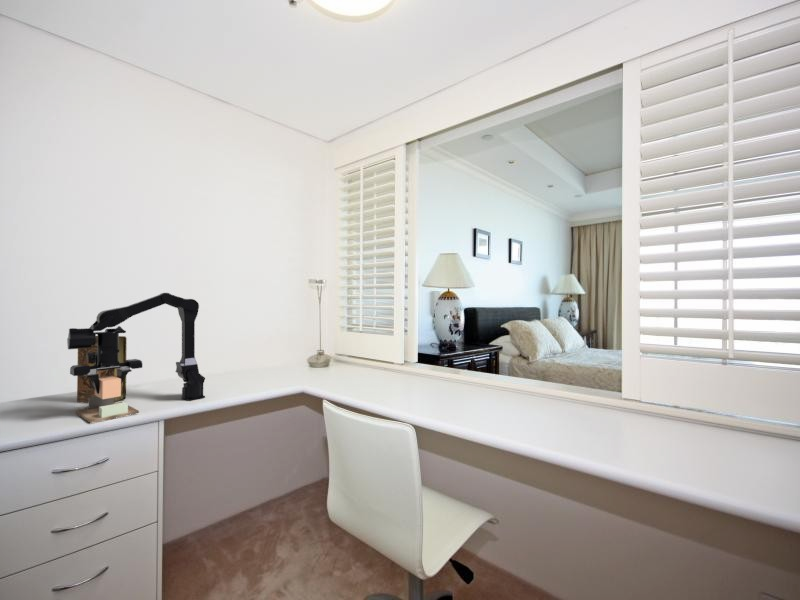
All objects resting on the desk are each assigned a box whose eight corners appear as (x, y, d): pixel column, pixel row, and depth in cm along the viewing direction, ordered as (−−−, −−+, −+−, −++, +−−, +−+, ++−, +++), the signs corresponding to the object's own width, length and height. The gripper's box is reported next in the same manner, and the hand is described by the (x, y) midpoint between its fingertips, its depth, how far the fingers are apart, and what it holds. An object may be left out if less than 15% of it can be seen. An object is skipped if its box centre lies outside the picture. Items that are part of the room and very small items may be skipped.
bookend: (111, 403, 132) (112, 392, 132) (114, 405, 130) (114, 393, 130) (87, 408, 126) (87, 396, 126) (89, 409, 125) (89, 398, 125)
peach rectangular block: (112, 392, 128) (112, 375, 129) (120, 396, 123) (121, 378, 123) (94, 395, 124) (94, 377, 125) (102, 399, 119) (102, 381, 119)
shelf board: (121, 404, 134) (121, 401, 134) (138, 413, 123) (138, 410, 123) (75, 412, 124) (75, 410, 124) (90, 423, 113) (90, 420, 113)
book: (74, 402, 136) (74, 337, 137) (88, 398, 142) (88, 335, 142) (113, 404, 135) (114, 337, 135) (126, 400, 140) (126, 336, 140)
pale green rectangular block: (124, 410, 123) (124, 402, 123) (127, 412, 121) (127, 403, 121) (98, 416, 118) (99, 406, 118) (101, 417, 116) (101, 408, 116)
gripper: (132, 342, 136) (131, 383, 136) (66, 347, 121) (65, 393, 121) (143, 344, 129) (142, 388, 129) (74, 350, 115) (74, 399, 114)
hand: (107, 391), depth 124 cm, fingers closed on peach rectangular block, 5 cm apart
